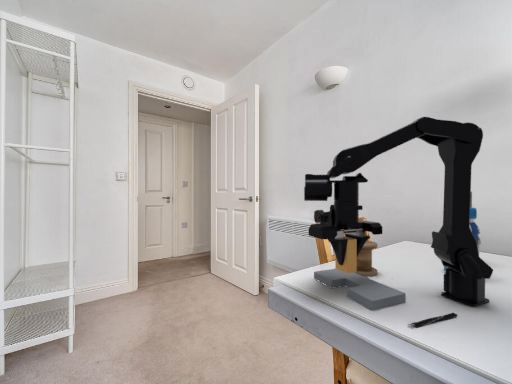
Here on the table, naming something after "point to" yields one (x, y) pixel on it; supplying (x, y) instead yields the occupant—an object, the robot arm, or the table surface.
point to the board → (362, 289)
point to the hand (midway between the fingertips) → (346, 264)
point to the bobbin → (366, 260)
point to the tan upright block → (349, 257)
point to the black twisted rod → (432, 320)
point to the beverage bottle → (473, 228)
